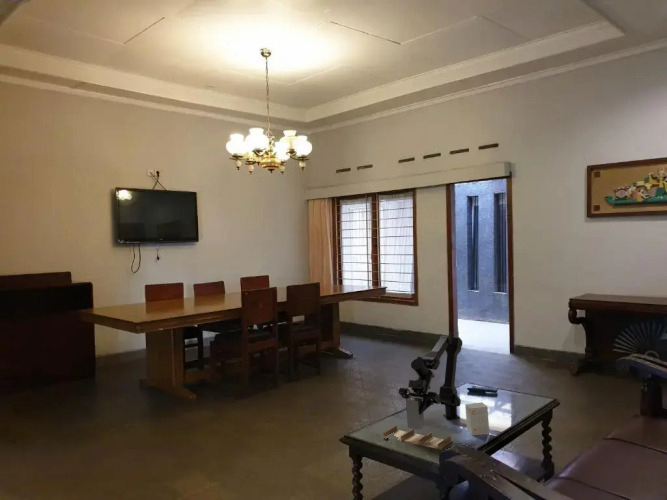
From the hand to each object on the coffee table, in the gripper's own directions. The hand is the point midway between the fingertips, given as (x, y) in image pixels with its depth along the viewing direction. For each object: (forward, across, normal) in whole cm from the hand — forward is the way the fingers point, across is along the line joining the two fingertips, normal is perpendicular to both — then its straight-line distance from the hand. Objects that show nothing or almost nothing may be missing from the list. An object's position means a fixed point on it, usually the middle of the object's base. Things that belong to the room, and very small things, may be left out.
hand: (413, 413), depth 223 cm
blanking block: (+4, 0, +6) cm, 7 cm away
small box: (-6, +20, +24) cm, 32 cm away
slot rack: (+8, 0, +10) cm, 13 cm away
